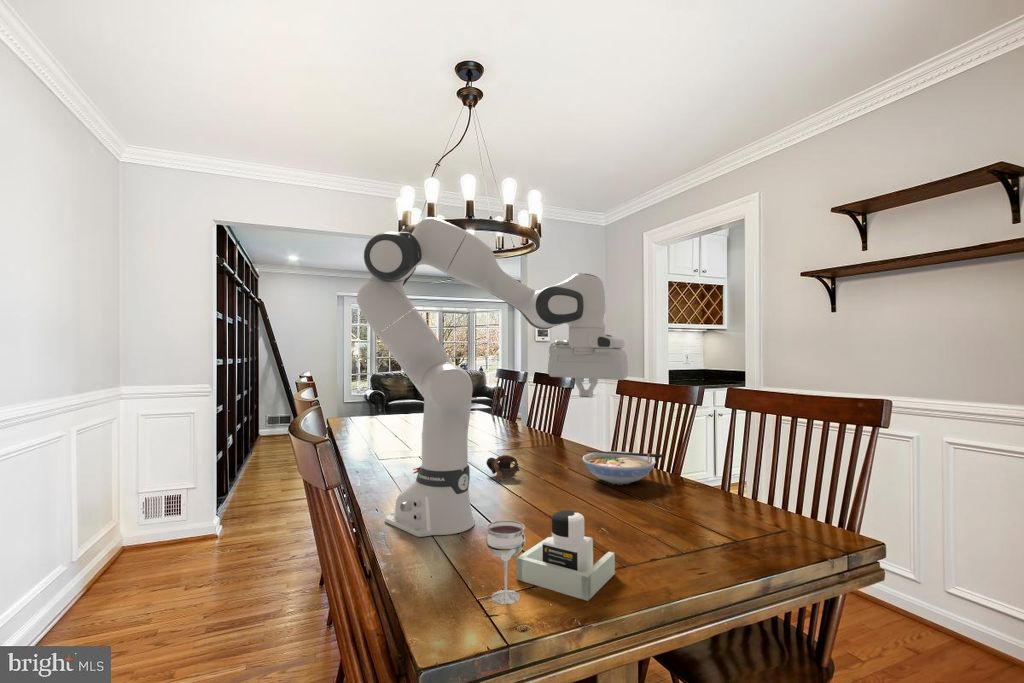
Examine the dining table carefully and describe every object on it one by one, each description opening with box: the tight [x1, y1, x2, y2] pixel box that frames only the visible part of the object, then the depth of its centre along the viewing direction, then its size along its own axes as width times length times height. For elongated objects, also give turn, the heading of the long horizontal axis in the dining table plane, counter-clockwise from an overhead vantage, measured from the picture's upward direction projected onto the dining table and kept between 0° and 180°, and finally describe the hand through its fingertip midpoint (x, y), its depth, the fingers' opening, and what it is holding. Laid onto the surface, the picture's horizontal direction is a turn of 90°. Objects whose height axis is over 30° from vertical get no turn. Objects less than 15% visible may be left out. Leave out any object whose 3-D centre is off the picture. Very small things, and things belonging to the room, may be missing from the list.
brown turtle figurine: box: [486, 454, 520, 482], centre depth 164 cm, size 12×10×8 cm
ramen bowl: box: [582, 450, 663, 486], centre depth 158 cm, size 25×23×8 cm
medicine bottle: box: [543, 510, 594, 573], centre depth 93 cm, size 7×7×12 cm
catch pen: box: [515, 536, 616, 602], centre depth 94 cm, size 14×12×4 cm
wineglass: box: [485, 519, 526, 605], centre depth 86 cm, size 7×7×12 cm
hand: (586, 397), depth 122 cm, fingers closed
